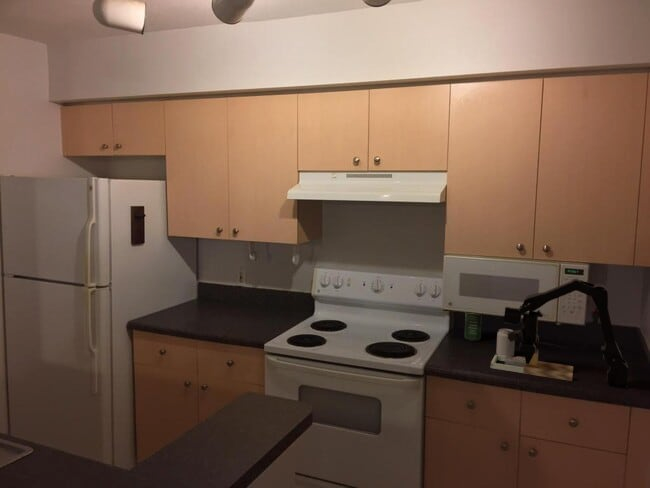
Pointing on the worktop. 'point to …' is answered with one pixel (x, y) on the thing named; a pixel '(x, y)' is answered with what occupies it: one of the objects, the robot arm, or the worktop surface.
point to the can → (504, 343)
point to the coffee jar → (473, 326)
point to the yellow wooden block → (533, 361)
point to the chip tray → (504, 367)
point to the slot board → (551, 370)
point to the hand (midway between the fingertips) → (527, 362)
